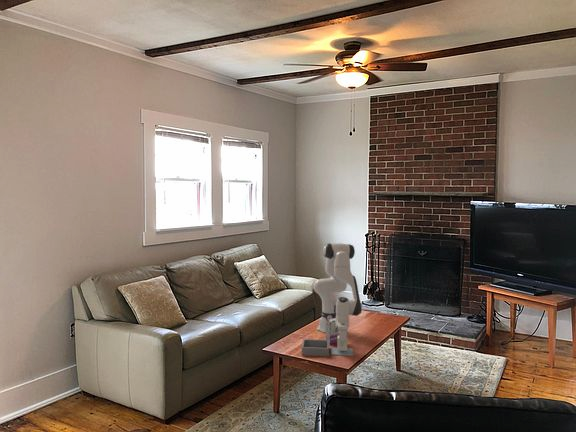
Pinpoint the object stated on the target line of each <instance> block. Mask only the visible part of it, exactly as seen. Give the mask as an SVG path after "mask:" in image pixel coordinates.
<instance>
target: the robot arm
mask: <svg viewBox="0 0 576 432" xmlns="http://www.w3.org/2000/svg"><path fill="white" fill-rule="evenodd" d="M355 251H356V250H355V246H354V245H352V244H351V243H347V244H346V243H342V242H339V243H326V244H324V246H323V249H322V253H323V256H324V257H325V258H326V261H325V267H324V268H325V269H324V271H325V273H326V274H327V275H329V276H330V277H328V278H327V277H326V278H319V279H316V280H315V281H314V283H313V290H314V292H315V293H316V294H317V295H318V296H319V297H320V299H321V309H322V310H321V317H320V318H319V319H318V320H319V321H318V322H319V324H318V326H317V328H316V331H320V332H322V333H325V334H326V320H329V319H333V318H336V326H337V329H338V331H339V340H340V342H341V346H344V342H346V336H348V330H349V327H350V316H356V317H358V316H359V315H361V314H362V311H363V305H362V302H361V299H360V293H359V288H358V283H357V279H356V276H355V275H353V273H352V272H351V261H350V260H352V259H353V258H354V257H355V254H356V253H355ZM348 286H349V287H350V288H351V291H352V298H353V299H349V298H347V297H344V296H339V297H338V298H334V297H332V295H331V294H336V293H337V294H339V293H342V292H345V291H346V289H347V287H348Z"/></svg>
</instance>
